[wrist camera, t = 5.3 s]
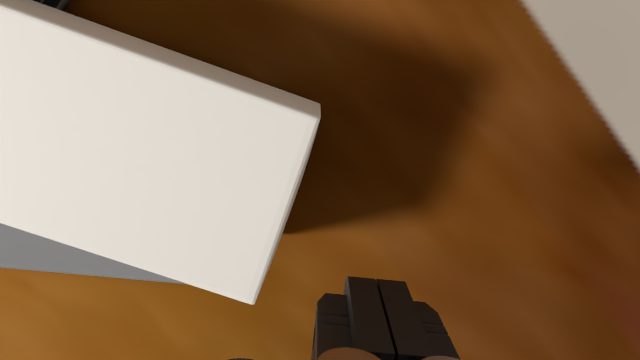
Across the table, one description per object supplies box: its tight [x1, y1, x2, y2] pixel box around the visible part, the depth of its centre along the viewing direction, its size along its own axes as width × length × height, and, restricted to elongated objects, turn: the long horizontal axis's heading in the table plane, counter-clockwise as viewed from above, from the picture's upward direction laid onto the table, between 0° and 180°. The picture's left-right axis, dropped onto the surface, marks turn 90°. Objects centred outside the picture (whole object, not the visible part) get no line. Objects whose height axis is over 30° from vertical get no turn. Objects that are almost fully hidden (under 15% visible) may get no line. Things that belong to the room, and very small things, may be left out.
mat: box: [0, 223, 186, 284], centre depth 24 cm, size 16×10×1 cm, turn 84°
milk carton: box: [0, 0, 321, 304], centre depth 20 cm, size 7×7×19 cm
